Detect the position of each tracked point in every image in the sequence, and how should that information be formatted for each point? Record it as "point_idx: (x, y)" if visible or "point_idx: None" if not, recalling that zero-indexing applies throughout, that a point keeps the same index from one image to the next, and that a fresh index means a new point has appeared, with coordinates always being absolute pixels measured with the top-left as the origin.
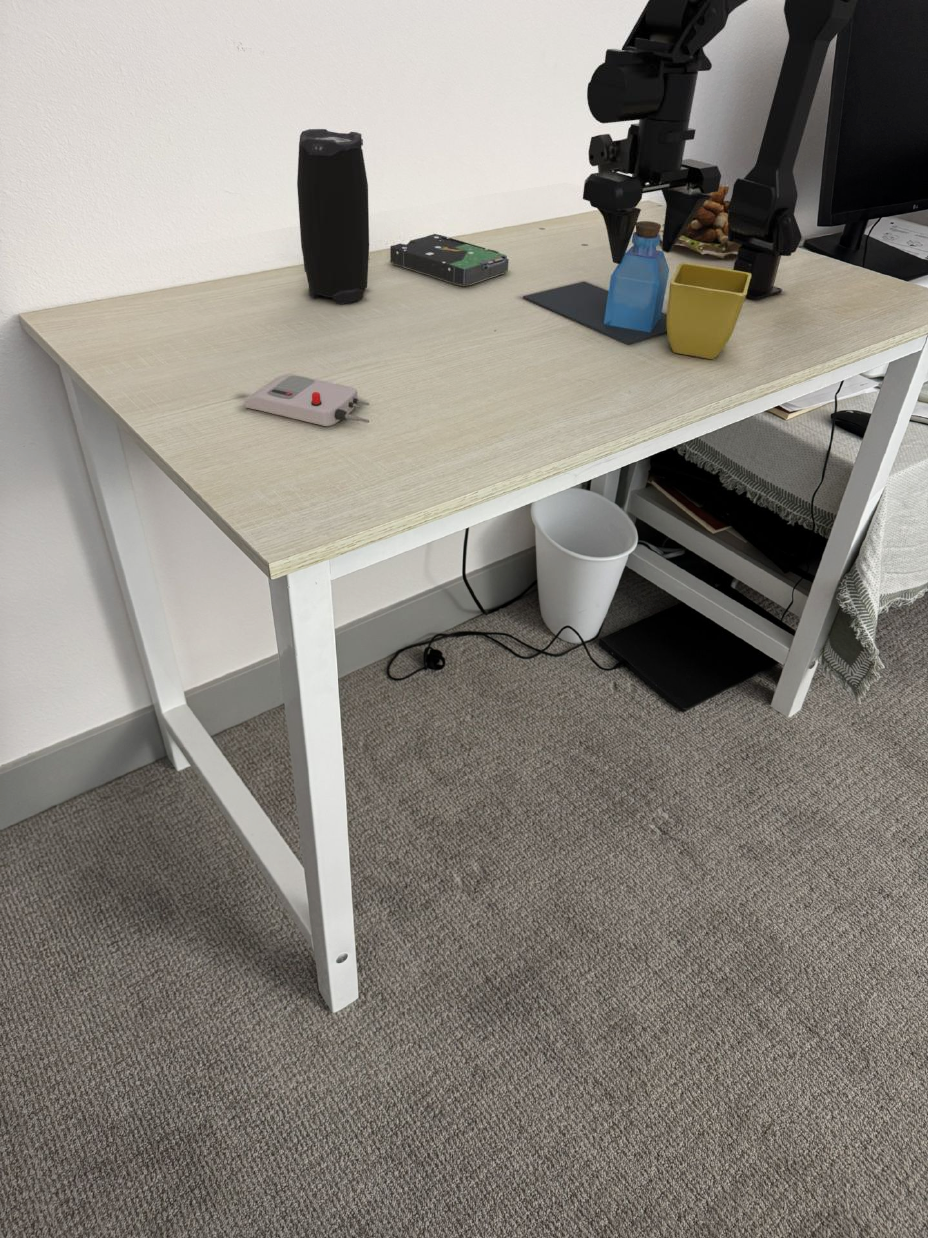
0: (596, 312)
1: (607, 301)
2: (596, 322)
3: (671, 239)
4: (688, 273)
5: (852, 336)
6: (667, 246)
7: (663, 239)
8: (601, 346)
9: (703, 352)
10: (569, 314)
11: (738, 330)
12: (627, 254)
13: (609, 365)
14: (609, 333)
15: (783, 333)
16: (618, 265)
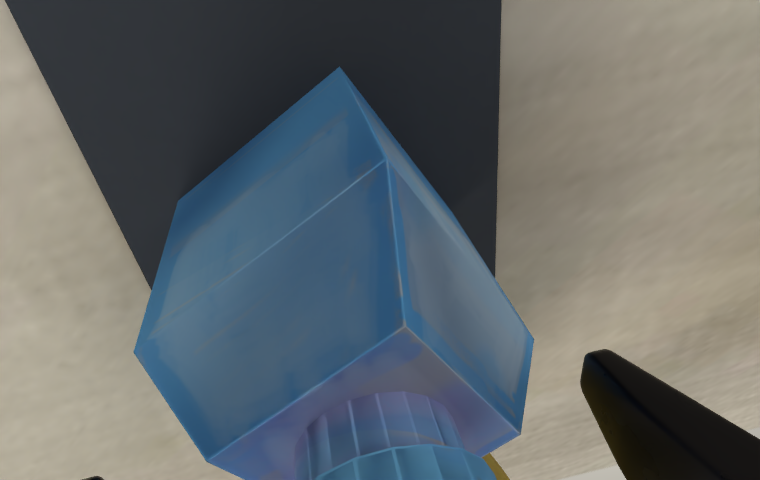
0: (219, 62)
1: (163, 257)
2: (153, 172)
3: (627, 468)
4: None
5: (741, 406)
6: (601, 405)
7: (631, 405)
8: (77, 339)
9: None
10: (45, 27)
11: (581, 335)
12: (227, 465)
13: (42, 443)
14: (153, 281)
15: (651, 370)
16: (170, 404)
